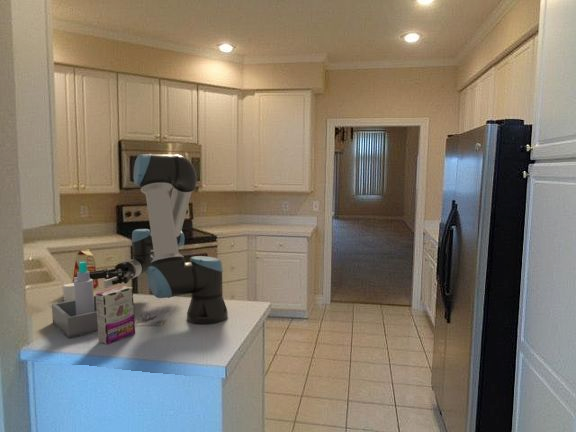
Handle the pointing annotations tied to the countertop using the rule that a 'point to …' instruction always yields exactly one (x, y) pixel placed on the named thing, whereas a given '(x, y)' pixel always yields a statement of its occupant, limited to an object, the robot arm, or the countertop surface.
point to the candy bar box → (115, 314)
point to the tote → (74, 319)
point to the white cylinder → (68, 291)
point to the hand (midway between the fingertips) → (89, 283)
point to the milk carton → (91, 266)
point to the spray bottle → (84, 291)
